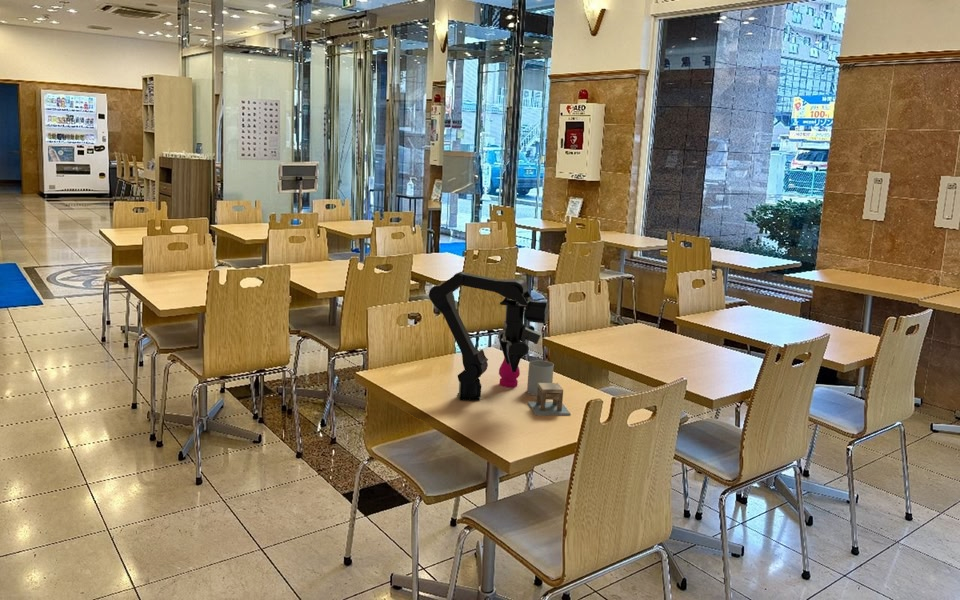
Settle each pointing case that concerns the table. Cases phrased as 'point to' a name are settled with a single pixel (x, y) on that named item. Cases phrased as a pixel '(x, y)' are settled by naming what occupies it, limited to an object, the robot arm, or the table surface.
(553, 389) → the stool
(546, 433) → the table surface
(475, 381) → the robot arm
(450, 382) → the table surface
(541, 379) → the cup
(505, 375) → the pepper mill
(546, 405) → the mat
